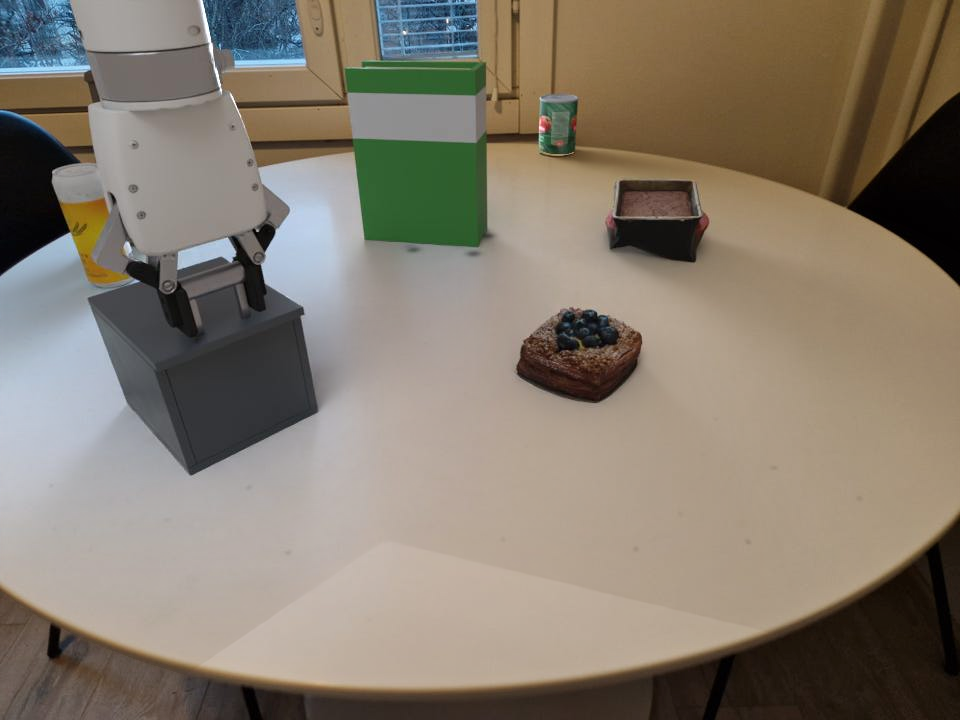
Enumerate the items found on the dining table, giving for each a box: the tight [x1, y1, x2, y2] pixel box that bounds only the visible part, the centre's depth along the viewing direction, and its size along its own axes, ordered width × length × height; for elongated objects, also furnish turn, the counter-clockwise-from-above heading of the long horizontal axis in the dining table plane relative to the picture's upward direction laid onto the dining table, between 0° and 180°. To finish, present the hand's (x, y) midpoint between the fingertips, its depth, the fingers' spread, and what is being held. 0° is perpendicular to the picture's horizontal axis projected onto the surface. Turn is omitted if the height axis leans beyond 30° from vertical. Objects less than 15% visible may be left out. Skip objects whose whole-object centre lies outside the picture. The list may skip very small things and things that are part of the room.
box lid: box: [86, 256, 305, 372], centre depth 55 cm, size 15×13×6 cm
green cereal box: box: [343, 59, 488, 248], centre depth 94 cm, size 18×7×24 cm, turn 79°
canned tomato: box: [538, 93, 579, 154], centre depth 136 cm, size 8×8×11 cm
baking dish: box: [604, 177, 710, 263], centre depth 94 cm, size 14×18×10 cm
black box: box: [90, 306, 319, 476], centre depth 60 cm, size 15×13×11 cm
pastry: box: [515, 306, 643, 404], centre depth 66 cm, size 11×12×6 cm
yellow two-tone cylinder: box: [51, 162, 135, 289], centre depth 84 cm, size 6×6×15 cm
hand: (220, 316), depth 52 cm, fingers closed on box lid, 5 cm apart
